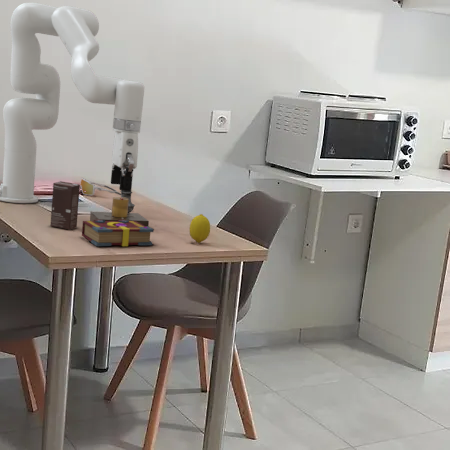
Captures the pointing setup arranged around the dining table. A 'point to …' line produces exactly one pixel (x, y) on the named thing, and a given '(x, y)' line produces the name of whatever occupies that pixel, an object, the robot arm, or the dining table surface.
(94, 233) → the decorative book
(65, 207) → the box
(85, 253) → the dining table surface
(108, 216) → the lock plate
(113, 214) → the lock knob
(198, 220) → the lemon
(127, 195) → the grey textured elongated piece
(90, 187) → the sunglasses
